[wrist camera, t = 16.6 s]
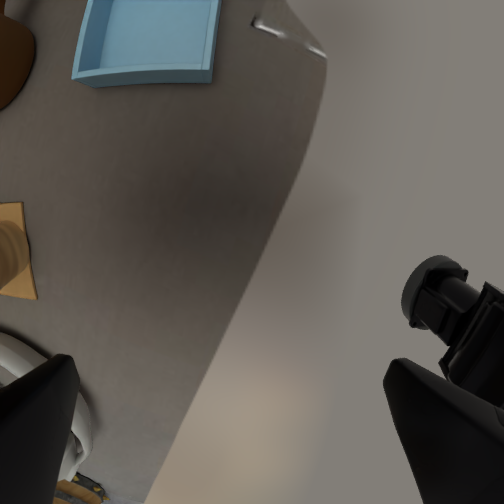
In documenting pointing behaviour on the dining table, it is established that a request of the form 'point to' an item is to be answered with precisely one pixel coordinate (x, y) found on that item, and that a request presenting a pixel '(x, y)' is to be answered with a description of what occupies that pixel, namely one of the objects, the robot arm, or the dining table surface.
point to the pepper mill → (12, 252)
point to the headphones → (26, 359)
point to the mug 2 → (78, 491)
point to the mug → (13, 56)
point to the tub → (146, 42)
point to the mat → (24, 281)
